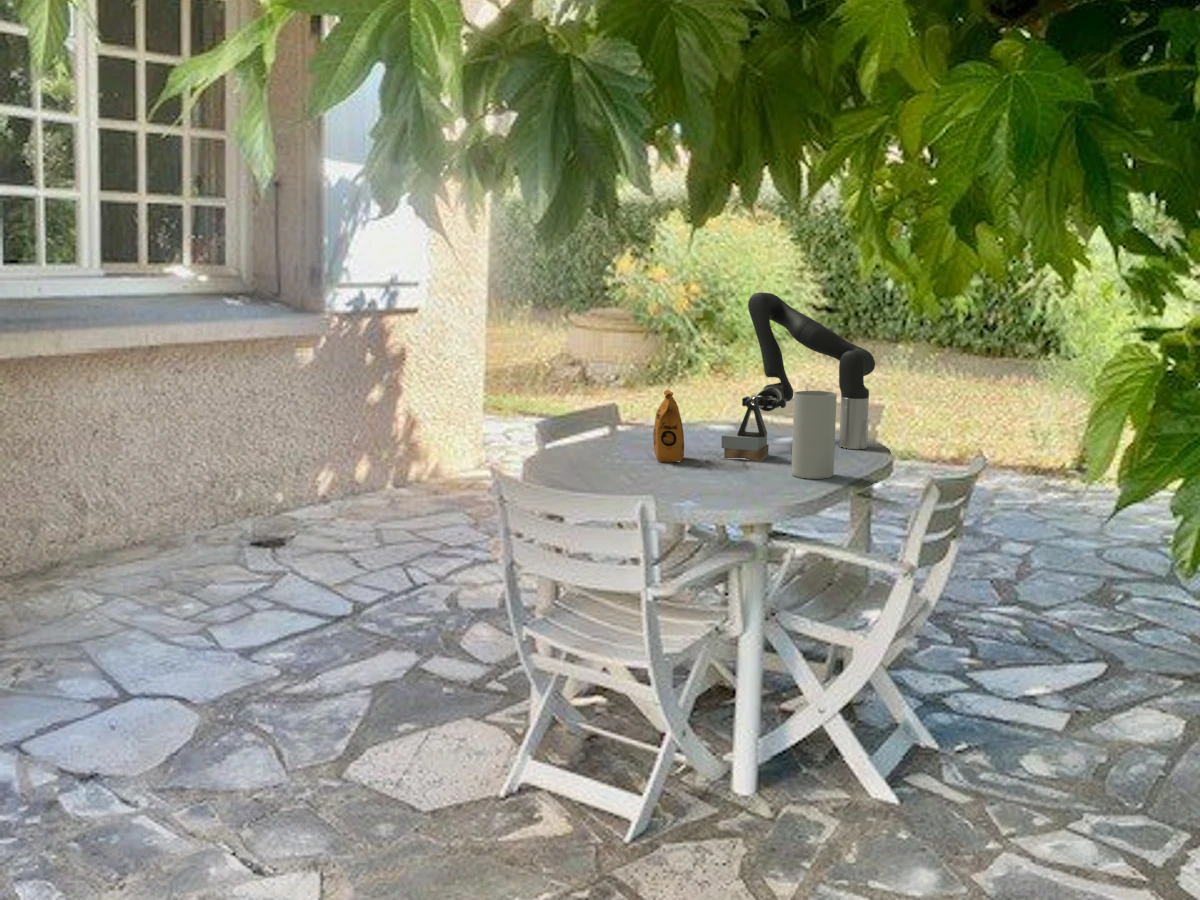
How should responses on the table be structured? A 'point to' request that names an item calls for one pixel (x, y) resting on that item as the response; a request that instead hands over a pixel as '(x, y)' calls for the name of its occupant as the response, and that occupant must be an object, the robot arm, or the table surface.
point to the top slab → (742, 441)
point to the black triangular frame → (759, 421)
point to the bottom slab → (747, 453)
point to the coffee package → (668, 431)
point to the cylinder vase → (813, 434)
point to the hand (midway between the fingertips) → (760, 405)
